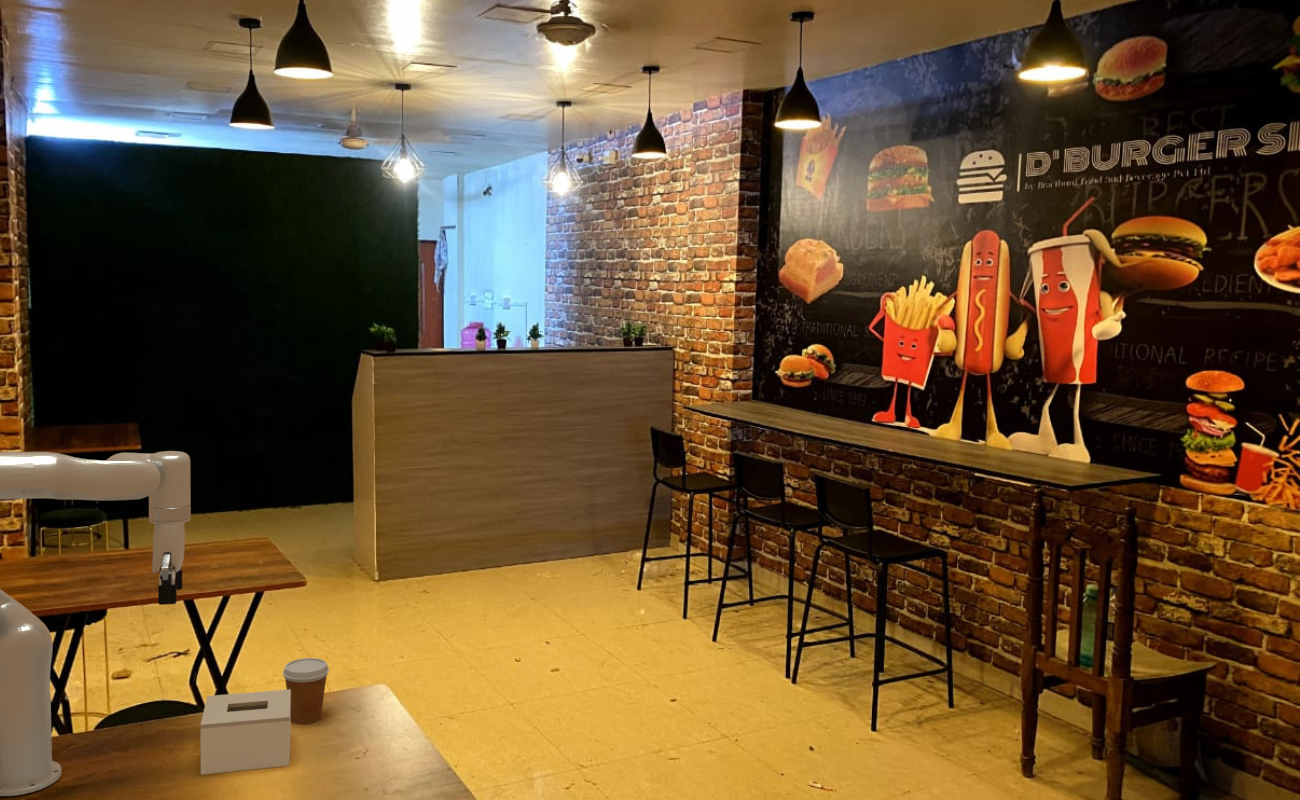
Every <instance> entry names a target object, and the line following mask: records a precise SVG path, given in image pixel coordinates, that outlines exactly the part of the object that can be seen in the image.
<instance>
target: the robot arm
mask: <svg viewBox="0 0 1300 800" xmlns="http://www.w3.org/2000/svg"><path fill="white" fill-rule="evenodd" d="M147 497H148V519H149V523H150V524H153V525H154V527H153V534H152V535H153V539H152V541H153V542H152V567H151V569H152V573H154V574H157V573H158V572H159V577H158V585H157V588H158V589H157V591H158V599H157V601H158V605H160V606H161V605H162V606H165V605H176V604H177V601H178V600H177V599H178V598H177V594H178V593H177V591H179V590H183V569H182V566H183V563H184V559H185V543H186V542H185V541H186V538H185V531H186V529H185V524H186V523H188V522H190V521H191V519H192V517H191V515H192V513H191V509H192V508H191V458H190V455H189V454H188V453H186V452H183V451H179V450H178V451H175V450H167V451H158V452H154V453H142V452H141V453H140V452H120V453H119V452H118V453H116V454H113V455H112V456H110V457H109V458H107V459H106V460H98V459H87V458H80V457H74V456H70V455H67V454H64V453H63V454H62V453H57V452H51V451H0V500H22V499H24V500H25V499H26V500H29V499H54V500H79V501H80V500H82V501H84V500H85V501H128V500H130V501H131V500H140V499H144V498H147ZM52 658H53V638H52V635H51V632H50V630H49V629H48V627H47V625H46V624H45V623H44V622H43V621H42V620H41V619H40V618H39V617H37V616H36V614H34V613H33V612H31V610H29V609H28V608H27V607H25V606H24V605H23V604H21V603H20V602H19V601H17V600H16V599H14V597H12V596H11V595H9V594H7V593H6V592H5V591H4V590H2V589H1V588H0V797H13V796H14V797H15V796H21V795H26V794H30V793H35V792H36V791H40V790H43V789H45V788H47V787H49V786H52V784H54V783H56V781H58V780H59V779H60V777H61V776H62V773H63V772H62V766H61V763H59V762H57V761H55V760H53V755H52V753H53V752H52V747H53V746H52V712H51V711H52V709H51V708H52V707H51V706H52V705H51V701H52V700H51V665H52V664H51V663H52Z"/></svg>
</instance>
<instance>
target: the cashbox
mask: <svg viewBox="0 0 1300 800" xmlns="http://www.w3.org/2000/svg"><path fill="white" fill-rule="evenodd" d="M291 723H292V721H291V689H289V690H287V689H278V690H267V691H266V690H265V691H255V692H241V693H239V692H238V693H229V694H228V693H227V694H216V695H215V694H213V695H207V696H206V700H205V704H204V709H203V713H202V716H201V720H200V775H210V774H212V775H213V774H222V773H223V774H224V773H233V772H241V771H250V770H251V771H252V770H262V769H270V768H271V769H273V768H281V767H290V760H291V759H290V758H291V757H290V754H291V735H292V734H291V726H292V725H291Z"/></svg>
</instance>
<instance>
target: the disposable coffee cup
mask: <svg viewBox="0 0 1300 800" xmlns="http://www.w3.org/2000/svg"><path fill="white" fill-rule="evenodd" d="M329 672H330V668H329V666H328V663H327V661H325V660H323V659H321V658H314V657H305V658H299V659H293V660H292V661H289V662H288V663H286V665H285V666H284V669H283V671H282V675H283V677H284V679H285V688H286V690H289V689H291V723H293V724H296V725H307V724H309V725H310V724H313V723H316V722H319V720H321V718H322V710H323V703H324V697H325V691H326V683H327V682H326V681H327V676H328V675H329Z"/></svg>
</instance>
